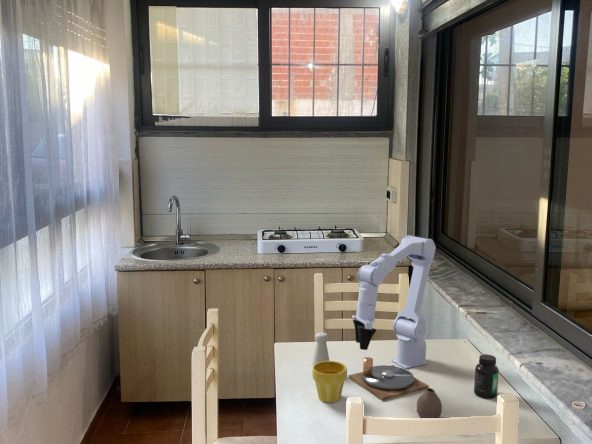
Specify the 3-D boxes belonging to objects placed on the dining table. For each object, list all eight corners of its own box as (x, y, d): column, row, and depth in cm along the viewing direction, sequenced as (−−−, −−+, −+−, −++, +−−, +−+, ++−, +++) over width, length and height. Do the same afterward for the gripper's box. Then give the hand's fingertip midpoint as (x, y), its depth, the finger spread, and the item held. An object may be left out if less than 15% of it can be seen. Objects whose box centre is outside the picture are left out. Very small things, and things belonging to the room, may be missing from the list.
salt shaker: (328, 375, 196) (329, 337, 194) (311, 373, 197) (311, 336, 195) (330, 368, 202) (331, 331, 200) (314, 366, 203) (314, 329, 201)
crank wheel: (409, 369, 198) (410, 350, 197) (417, 390, 182) (418, 370, 181) (360, 368, 198) (361, 349, 197) (365, 389, 183) (365, 369, 182)
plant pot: (304, 396, 181) (305, 366, 179) (329, 387, 187) (329, 357, 186) (329, 409, 173) (329, 377, 171) (353, 398, 180) (354, 368, 178)
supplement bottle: (500, 399, 180) (502, 361, 178) (477, 399, 180) (479, 361, 178) (492, 389, 187) (495, 353, 185) (471, 389, 187) (473, 352, 185)
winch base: (393, 367, 203) (393, 364, 202) (428, 388, 187) (428, 385, 187) (348, 378, 194) (348, 375, 194) (382, 400, 179) (382, 397, 178)
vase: (413, 413, 171) (414, 384, 170) (436, 412, 172) (438, 384, 170) (420, 425, 164) (421, 395, 163) (444, 424, 165) (446, 395, 163)
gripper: (350, 297, 194) (345, 338, 195) (358, 307, 180) (352, 351, 181) (372, 299, 195) (366, 340, 196) (381, 309, 180) (375, 353, 181)
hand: (361, 345), depth 188 cm, fingers open, 7 cm apart
